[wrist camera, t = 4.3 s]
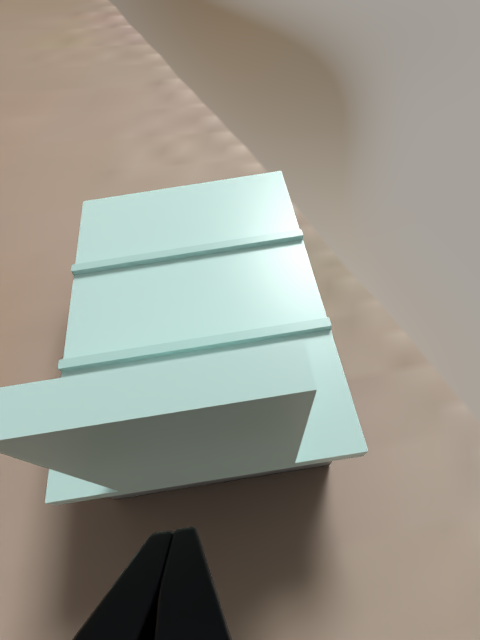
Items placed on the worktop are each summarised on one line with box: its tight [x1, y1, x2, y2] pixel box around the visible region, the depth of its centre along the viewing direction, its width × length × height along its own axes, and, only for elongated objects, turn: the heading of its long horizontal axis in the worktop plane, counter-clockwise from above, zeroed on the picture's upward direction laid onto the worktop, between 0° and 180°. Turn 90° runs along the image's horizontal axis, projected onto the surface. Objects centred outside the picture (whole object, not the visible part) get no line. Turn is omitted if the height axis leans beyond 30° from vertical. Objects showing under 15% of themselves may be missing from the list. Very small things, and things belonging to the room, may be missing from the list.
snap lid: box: [0, 171, 368, 505], centre depth 14 cm, size 15×11×8 cm
